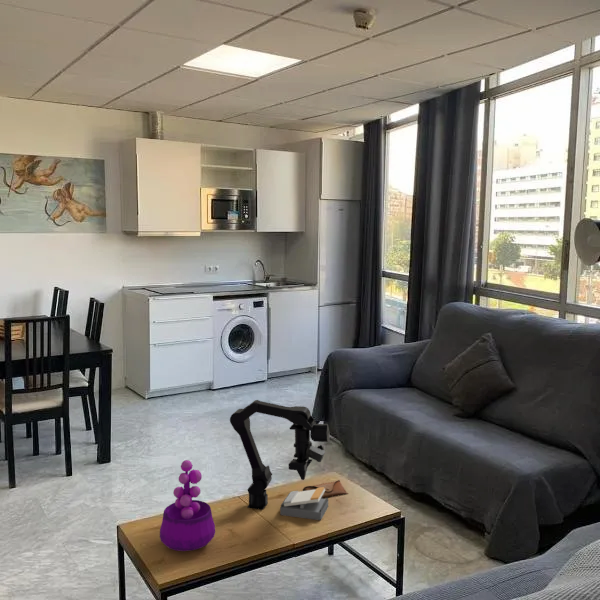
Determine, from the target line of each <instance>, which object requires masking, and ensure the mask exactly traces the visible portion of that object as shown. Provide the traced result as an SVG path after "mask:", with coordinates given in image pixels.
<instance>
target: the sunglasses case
mask: <svg viewBox="0 0 600 600" xmlns="http://www.w3.org/2000/svg"><path fill="white" fill-rule="evenodd" d="M320 487H324V488H325V492H324V494H323V495H322V497H321V499H326V498H328V499H329V498H333V497H338V495H339V496H343V494H344V495H348V494H349V493H348V492H347V490H346V489H345V487H344V486H343V484H342V483H341V480H339V479H338V480H335V481H331V482H325V483H320V484H319V483H318V484H315V485H307V486H304V487H303V489H302V491H307V490H314V489H317V488H320Z"/></svg>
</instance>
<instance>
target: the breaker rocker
mask: <svg viewBox="0 0 600 600" xmlns="http://www.w3.org/2000/svg"><path fill="white" fill-rule="evenodd" d="M324 492H325V488H324V487H320V488H317V489H314V490H307V491H303V490H302V491H301V490H294V491H290V492H289V493H290V494H289V493H288V494H289V495H287V496H288V497H287V496H286V497H287V498H286V497H285V498H286V499H285V498H284V500H285V501H284V500H283V501H284V506H292V505H299V504H306V503H314V502H319V500H320V499H321V497H322V495H323V494H324Z"/></svg>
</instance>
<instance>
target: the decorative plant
mask: <svg viewBox="0 0 600 600" xmlns="http://www.w3.org/2000/svg"><path fill="white" fill-rule="evenodd" d="M192 468H193V463H192V461H190V460H188V459H185V460H184V461H182V462H181V465H180V469H181V470H182V472H181V473H180V474H179V476H178V482H179V483H180V484H182V485H183V487H182V486H177V487H175V488H174V490H173V496H174V497H175V498H176V499H175V502H173V503H171V504H169V505H168V506H166V508H165V509H164V510H163V514H162V520H161V525H160V529H159V539H160V542H161V543H163V544H164V546H165V547H167V548H168V549H170V550H173V551H178V552H179V551H180V552H186V551H187V552H188V551H195V550H199V549H201V548H203V547H205V546H207V545H208V544H209V543H210V542H211V541H212V540H213V539H214V537H215V535H216V525H215V522H214V519H213V514H212V508H211V506H210V504H208V503H207V502H204V501H203V500H196V499H193V498H198V497H199V496H200V494H201V488H200V487H199V486H197V484H198V483H200V482H201V481H202V476H203V475H202V472H201V471H200V470H198V469H192ZM191 484H193V485H192V486H191ZM195 484H196V485H195Z"/></svg>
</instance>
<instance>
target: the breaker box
mask: <svg viewBox="0 0 600 600" xmlns="http://www.w3.org/2000/svg"><path fill="white" fill-rule="evenodd" d="M289 494H290V492H289V493H288V495H289ZM288 495H286V497H285V498H284V500H283V501H282V503H281V505H280V509H279V510H280V516H286V517H287V516H288V517H293V518H294V517H295V518H302V519H309V520H316V521H322V519H323V517H324V515H325V514H326V513H327V512H326V511H327V510H328V508H329V498H324V499H320V500H319V502H314V503H306V504H299V505H292V506H284V501H285V499H286V498H287V497H288Z"/></svg>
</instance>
